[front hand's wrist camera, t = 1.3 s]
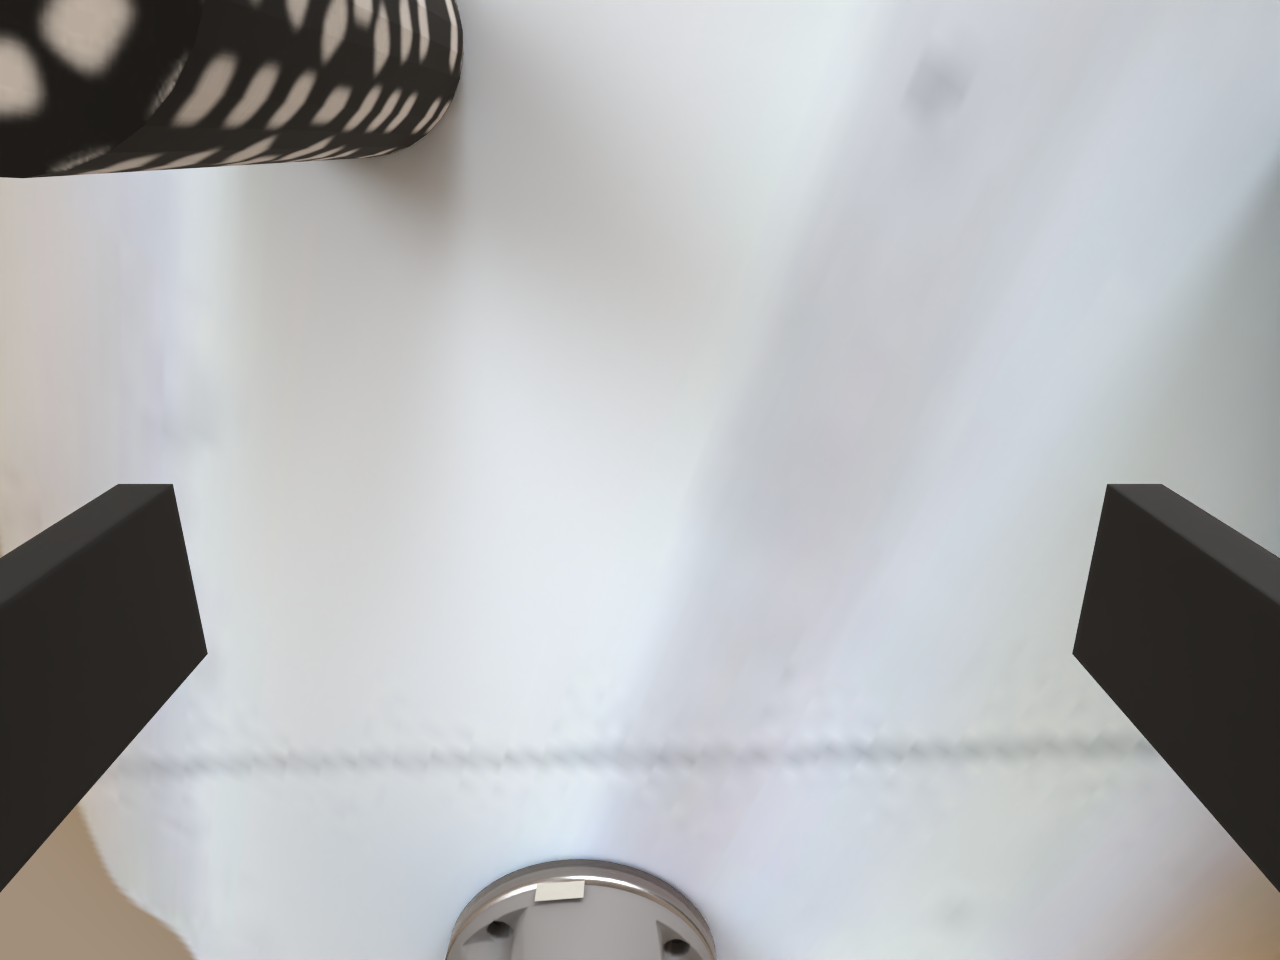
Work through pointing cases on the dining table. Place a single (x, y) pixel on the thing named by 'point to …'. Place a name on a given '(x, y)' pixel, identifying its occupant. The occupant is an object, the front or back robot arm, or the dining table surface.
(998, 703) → the dining table surface
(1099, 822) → the dining table surface
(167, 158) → the black white spotted cylinder
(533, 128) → the dining table surface
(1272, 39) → the dining table surface
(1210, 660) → the front robot arm
